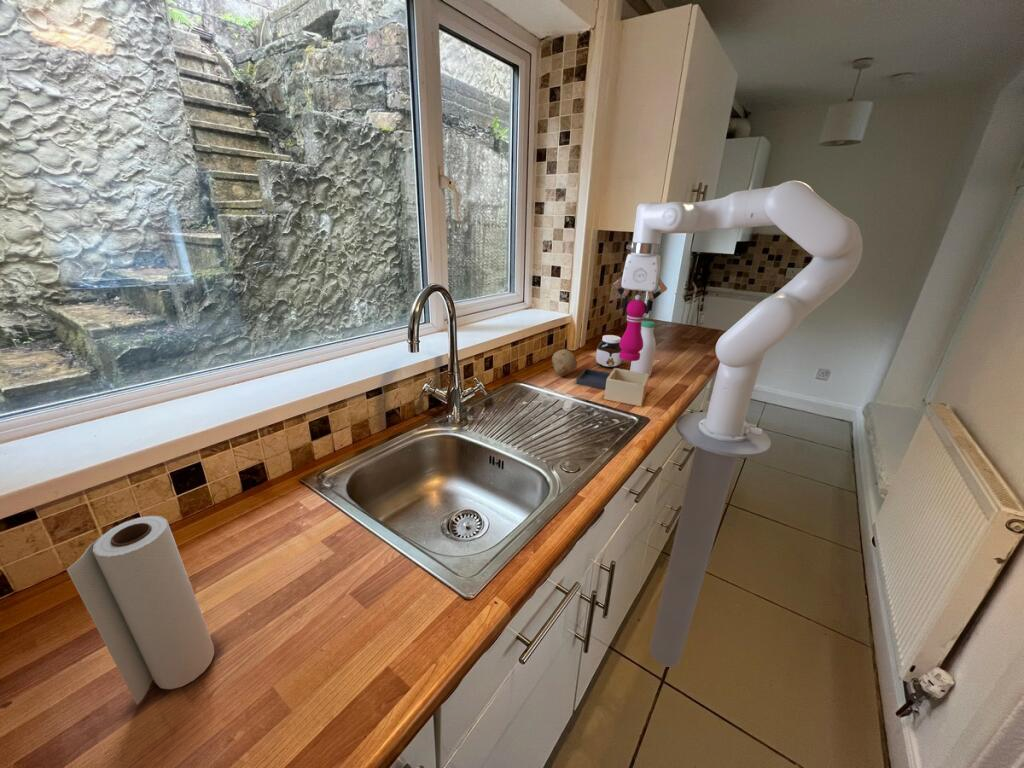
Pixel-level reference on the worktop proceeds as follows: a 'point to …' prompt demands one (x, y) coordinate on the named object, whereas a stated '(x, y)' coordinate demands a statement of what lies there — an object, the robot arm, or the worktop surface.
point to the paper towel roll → (144, 605)
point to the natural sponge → (564, 362)
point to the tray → (593, 378)
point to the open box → (626, 386)
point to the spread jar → (609, 352)
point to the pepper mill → (633, 330)
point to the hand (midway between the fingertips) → (636, 311)
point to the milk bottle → (645, 349)
